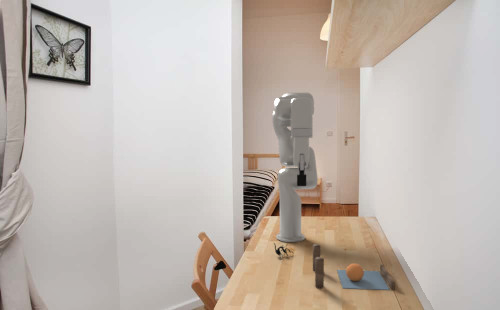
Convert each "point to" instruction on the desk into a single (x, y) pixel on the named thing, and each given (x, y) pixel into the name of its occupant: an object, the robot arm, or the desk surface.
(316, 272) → the post near camera
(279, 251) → the creature
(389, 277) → the wall
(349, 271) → the ball
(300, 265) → the desk surface
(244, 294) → the desk surface
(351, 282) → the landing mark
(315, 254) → the post near arm
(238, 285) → the desk surface
